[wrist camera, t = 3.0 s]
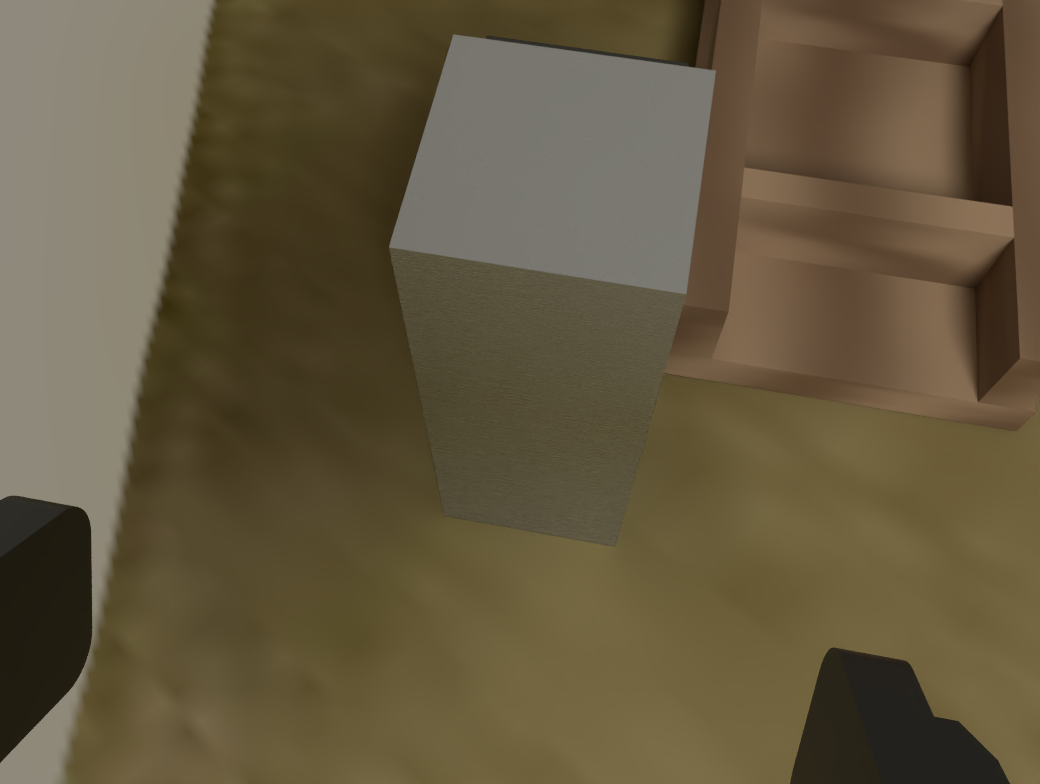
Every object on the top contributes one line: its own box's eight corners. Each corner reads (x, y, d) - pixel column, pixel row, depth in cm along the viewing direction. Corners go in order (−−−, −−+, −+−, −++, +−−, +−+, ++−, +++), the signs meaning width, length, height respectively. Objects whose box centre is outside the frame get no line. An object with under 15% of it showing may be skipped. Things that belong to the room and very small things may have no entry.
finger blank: (641, 374, 27) (719, 44, 16) (614, 546, 25) (686, 293, 14) (484, 348, 28) (460, 9, 17) (444, 515, 25) (388, 247, 15)
